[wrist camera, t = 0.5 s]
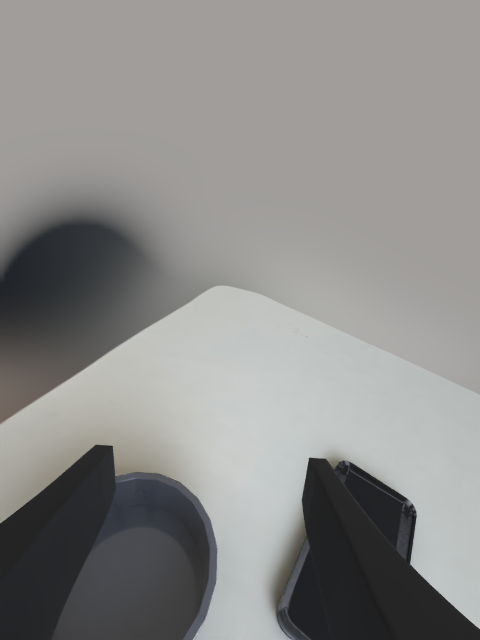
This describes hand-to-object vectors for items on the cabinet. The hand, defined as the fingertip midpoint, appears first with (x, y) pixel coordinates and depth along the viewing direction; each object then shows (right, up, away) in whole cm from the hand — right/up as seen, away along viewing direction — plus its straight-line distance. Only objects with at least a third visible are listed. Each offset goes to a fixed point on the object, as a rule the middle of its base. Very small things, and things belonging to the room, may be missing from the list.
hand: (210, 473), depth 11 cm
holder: (-7, -13, +11) cm, 18 cm away
